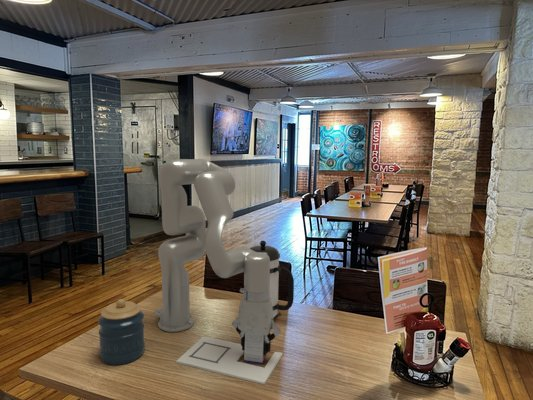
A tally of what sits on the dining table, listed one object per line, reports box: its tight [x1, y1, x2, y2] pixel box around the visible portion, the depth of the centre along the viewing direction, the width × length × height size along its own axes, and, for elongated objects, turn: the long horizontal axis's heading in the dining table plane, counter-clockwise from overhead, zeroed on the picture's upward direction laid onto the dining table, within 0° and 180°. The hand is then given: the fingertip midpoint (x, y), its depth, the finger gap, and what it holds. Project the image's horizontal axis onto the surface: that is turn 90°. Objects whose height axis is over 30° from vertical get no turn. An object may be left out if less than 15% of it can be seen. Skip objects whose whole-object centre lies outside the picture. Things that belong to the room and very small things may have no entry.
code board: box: [175, 335, 283, 386], centre depth 113 cm, size 28×16×1 cm, turn 70°
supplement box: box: [243, 325, 266, 365], centre depth 113 cm, size 6×6×12 cm
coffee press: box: [249, 240, 295, 318], centre depth 139 cm, size 17×16×30 cm
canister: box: [97, 298, 146, 366], centre depth 113 cm, size 13×13×18 cm
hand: (255, 350), depth 113 cm, fingers closed on supplement box, 6 cm apart
